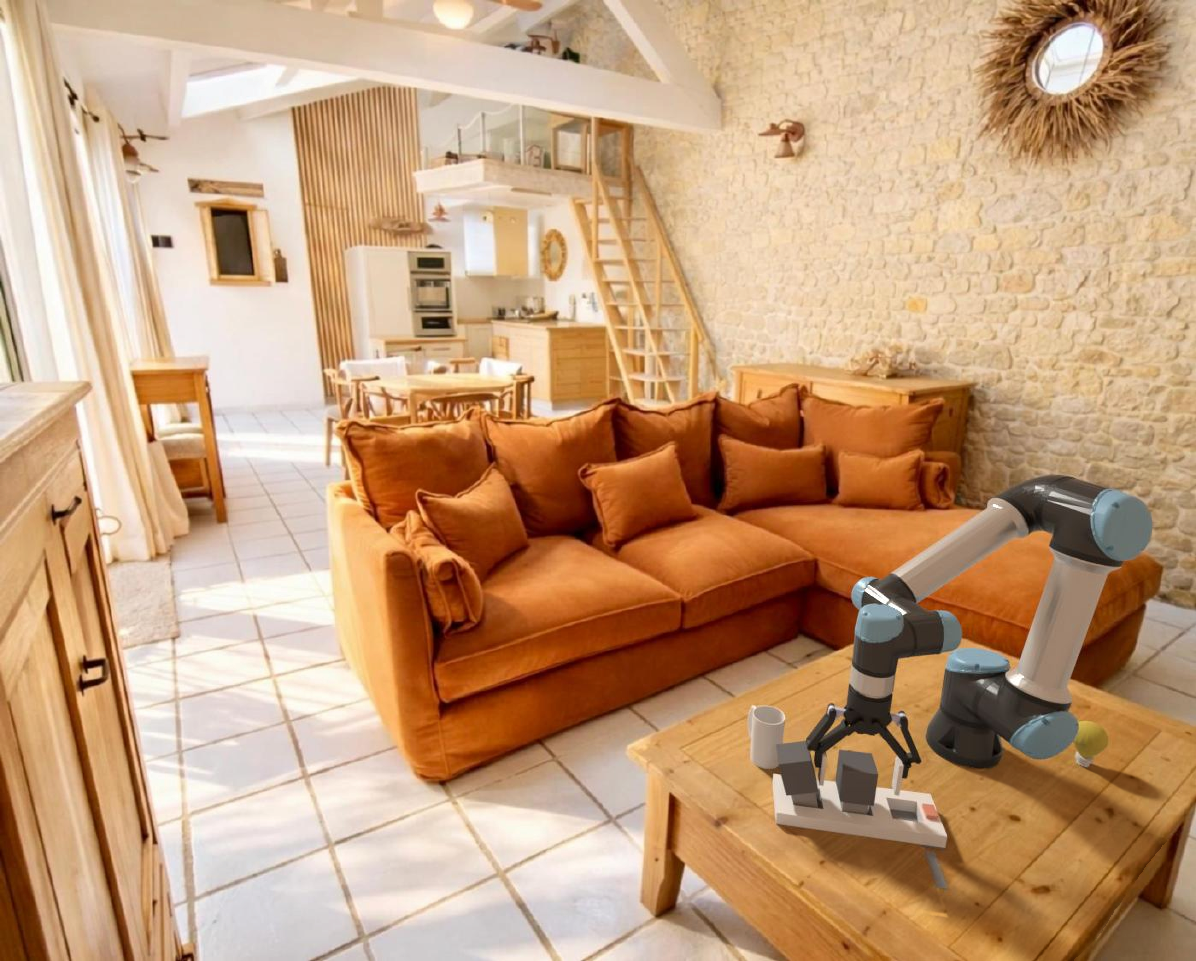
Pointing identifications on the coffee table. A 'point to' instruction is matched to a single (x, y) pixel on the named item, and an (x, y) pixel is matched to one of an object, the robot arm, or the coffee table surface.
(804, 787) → the twin plug
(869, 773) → the plug
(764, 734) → the mug
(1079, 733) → the light bulb
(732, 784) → the coffee table surface
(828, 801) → the strip
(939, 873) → the pad
